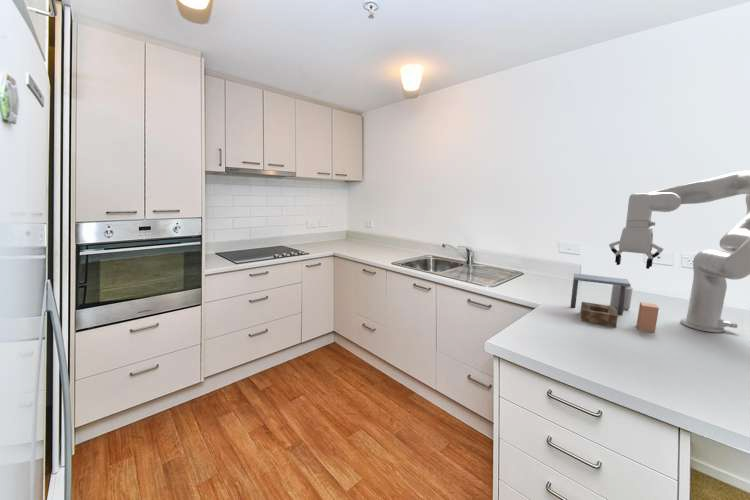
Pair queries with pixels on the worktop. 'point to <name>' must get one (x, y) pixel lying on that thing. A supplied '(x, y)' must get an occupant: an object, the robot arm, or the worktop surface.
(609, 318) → the socket block
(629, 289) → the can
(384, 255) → the worktop surface
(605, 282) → the grey arch frame
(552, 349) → the worktop surface
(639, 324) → the peg
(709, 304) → the robot arm
